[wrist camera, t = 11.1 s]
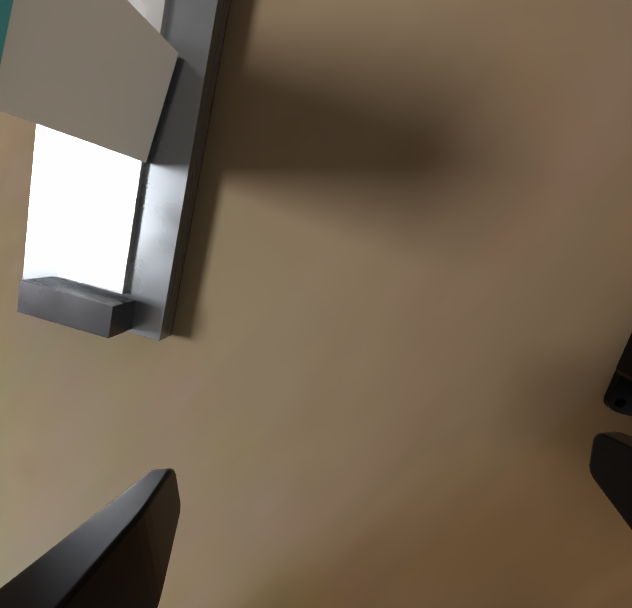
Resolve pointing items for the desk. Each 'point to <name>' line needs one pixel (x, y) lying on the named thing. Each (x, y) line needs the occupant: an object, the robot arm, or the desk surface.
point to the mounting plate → (124, 198)
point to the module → (85, 70)
